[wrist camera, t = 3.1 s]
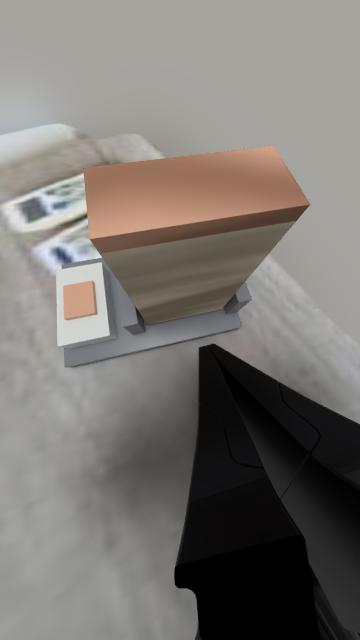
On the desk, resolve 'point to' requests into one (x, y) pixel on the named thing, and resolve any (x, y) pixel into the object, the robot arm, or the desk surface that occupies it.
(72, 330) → the console
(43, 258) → the desk surface
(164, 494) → the desk surface
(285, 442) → the robot arm
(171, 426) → the desk surface
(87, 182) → the key
